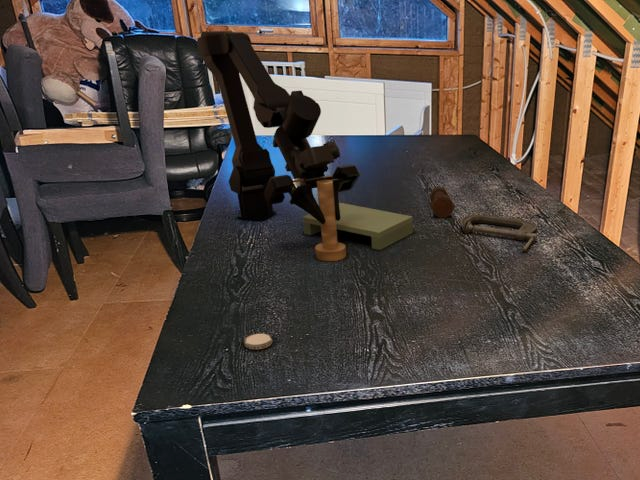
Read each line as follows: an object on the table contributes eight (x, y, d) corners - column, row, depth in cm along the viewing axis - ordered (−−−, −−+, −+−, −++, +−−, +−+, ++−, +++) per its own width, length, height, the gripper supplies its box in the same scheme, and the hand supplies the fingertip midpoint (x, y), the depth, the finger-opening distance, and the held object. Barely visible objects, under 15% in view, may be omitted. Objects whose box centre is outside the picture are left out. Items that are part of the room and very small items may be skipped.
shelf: (303, 233, 143) (302, 216, 141) (340, 218, 153) (339, 202, 151) (379, 250, 136) (378, 232, 134) (413, 233, 146) (412, 216, 144)
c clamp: (553, 230, 150) (554, 218, 149) (526, 253, 136) (526, 240, 135) (473, 216, 157) (474, 205, 156) (440, 237, 144) (440, 225, 142)
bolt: (440, 206, 170) (446, 222, 156) (423, 197, 168) (427, 212, 155) (452, 187, 168) (458, 201, 154) (434, 177, 166) (439, 191, 153)
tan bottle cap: (239, 343, 98) (238, 339, 98) (261, 334, 101) (261, 330, 101) (255, 351, 96) (254, 348, 96) (277, 342, 99) (277, 338, 99)
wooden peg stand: (311, 259, 130) (303, 184, 122) (323, 249, 135) (316, 176, 127) (339, 262, 129) (333, 186, 121) (350, 252, 134) (345, 178, 127)
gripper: (262, 132, 117) (299, 207, 115) (351, 122, 128) (386, 191, 126) (249, 168, 126) (283, 238, 124) (334, 156, 137) (366, 220, 135)
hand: (331, 221), depth 127 cm, fingers closed on wooden peg stand, 3 cm apart
